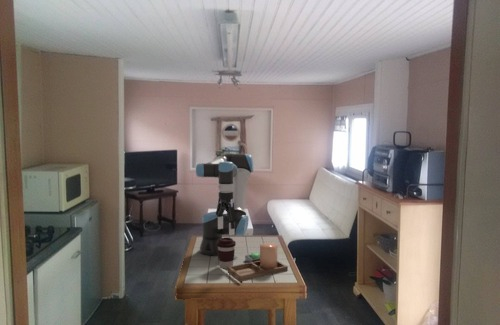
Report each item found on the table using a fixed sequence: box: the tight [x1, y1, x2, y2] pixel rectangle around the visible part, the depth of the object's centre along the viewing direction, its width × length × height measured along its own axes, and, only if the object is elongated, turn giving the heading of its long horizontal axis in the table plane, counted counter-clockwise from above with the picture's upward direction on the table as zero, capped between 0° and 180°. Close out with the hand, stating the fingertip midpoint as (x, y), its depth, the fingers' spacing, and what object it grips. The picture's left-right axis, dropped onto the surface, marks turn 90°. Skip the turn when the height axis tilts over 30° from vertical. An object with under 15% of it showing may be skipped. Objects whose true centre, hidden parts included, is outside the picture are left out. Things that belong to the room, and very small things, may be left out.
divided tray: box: [227, 260, 289, 284], centre depth 195 cm, size 14×27×3 cm, turn 119°
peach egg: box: [259, 242, 279, 270], centre depth 198 cm, size 9×9×12 cm
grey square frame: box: [244, 253, 260, 263], centre depth 208 cm, size 8×8×4 cm
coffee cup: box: [217, 237, 237, 270], centre depth 202 cm, size 10×10×15 cm
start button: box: [250, 252, 260, 259], centre depth 208 cm, size 5×5×3 cm
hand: (226, 231), depth 201 cm, fingers open, 13 cm apart
